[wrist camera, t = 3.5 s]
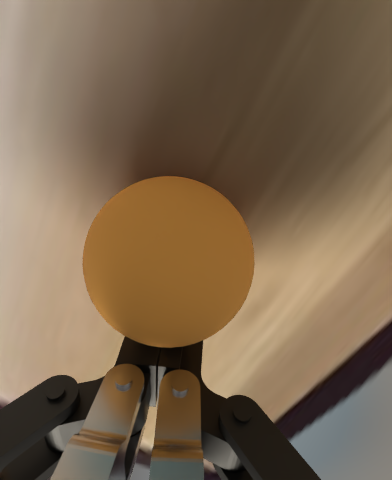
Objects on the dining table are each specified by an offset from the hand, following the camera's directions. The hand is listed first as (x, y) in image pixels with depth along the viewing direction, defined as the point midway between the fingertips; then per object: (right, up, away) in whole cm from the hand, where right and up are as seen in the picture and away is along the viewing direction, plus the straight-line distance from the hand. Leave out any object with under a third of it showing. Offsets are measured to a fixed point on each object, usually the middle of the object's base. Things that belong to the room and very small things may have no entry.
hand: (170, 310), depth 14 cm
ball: (0, +2, -3) cm, 4 cm away
